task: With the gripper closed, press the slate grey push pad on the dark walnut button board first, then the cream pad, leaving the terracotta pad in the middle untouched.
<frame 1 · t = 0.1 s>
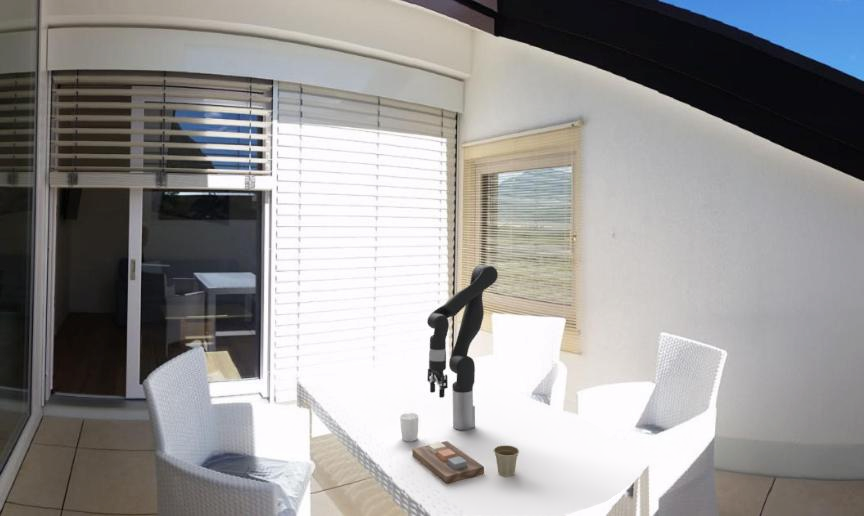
hand: (437, 394, 249), 17 cm above the table, tool pointing down, fingers open, 8 cm apart
cream pad: (436, 448, 224), point 4 cm above the table, slide at 0.0 cm
grey pad: (457, 464, 210), point 4 cm above the table, slide at 0.0 cm
terracotta pad: (446, 456, 217), point 4 cm above the table, slide at 0.0 cm
button board: (446, 465, 217), on the table
flower pot: (506, 473, 209), on the table
white cup: (409, 439, 244), on the table
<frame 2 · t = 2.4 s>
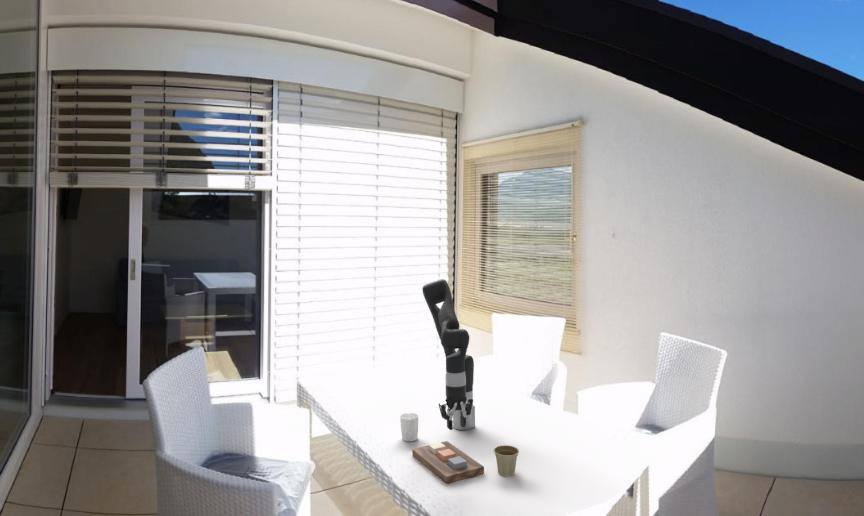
hand: (456, 427, 209), 17 cm above the table, tool pointing down, fingers open, 4 cm apart
nothing on the table moved.
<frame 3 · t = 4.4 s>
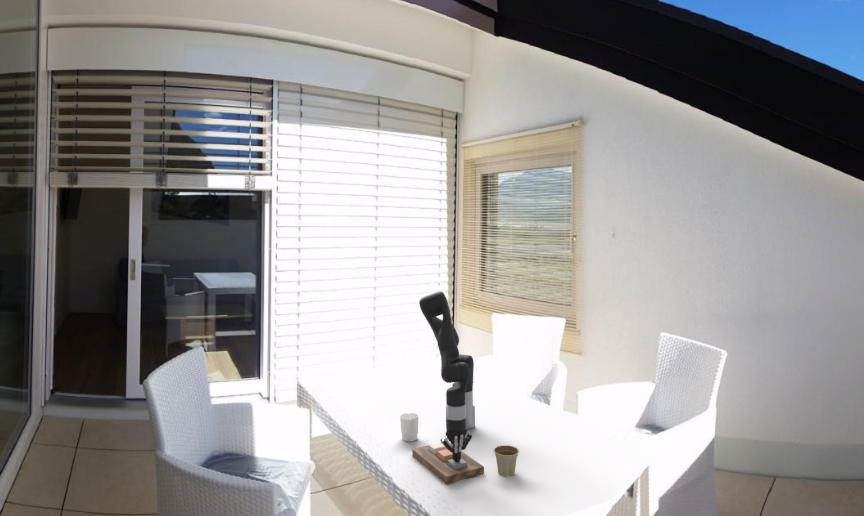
hand: (456, 461, 210), 5 cm above the table, tool pointing down, fingers closed
grey pad: (457, 465, 210), point 3 cm above the table, slide at 0.5 cm, touching gripper
everything else where it was.
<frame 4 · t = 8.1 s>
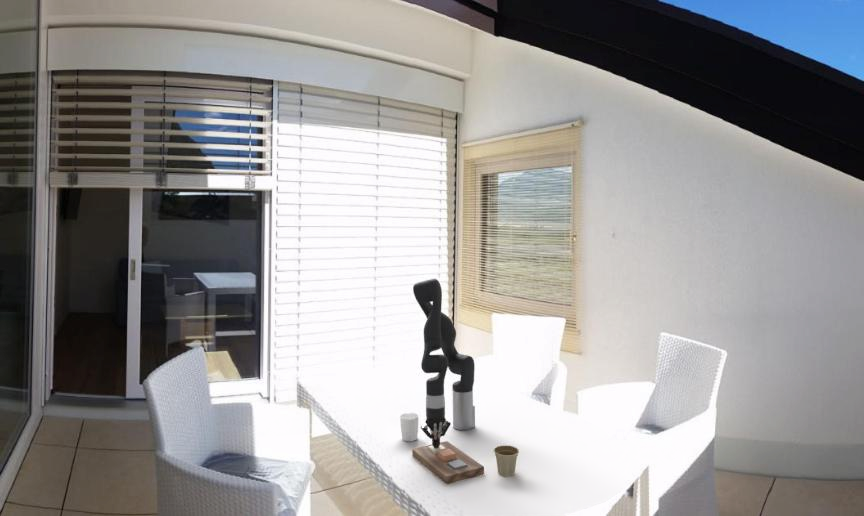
hand: (436, 447, 224), 4 cm above the table, tool pointing down, fingers closed
cream pad: (436, 450, 224), point 3 cm above the table, slide at 0.8 cm, touching gripper
grey pad: (457, 467, 210), point 2 cm above the table, slide at 1.3 cm
everything else where it was.
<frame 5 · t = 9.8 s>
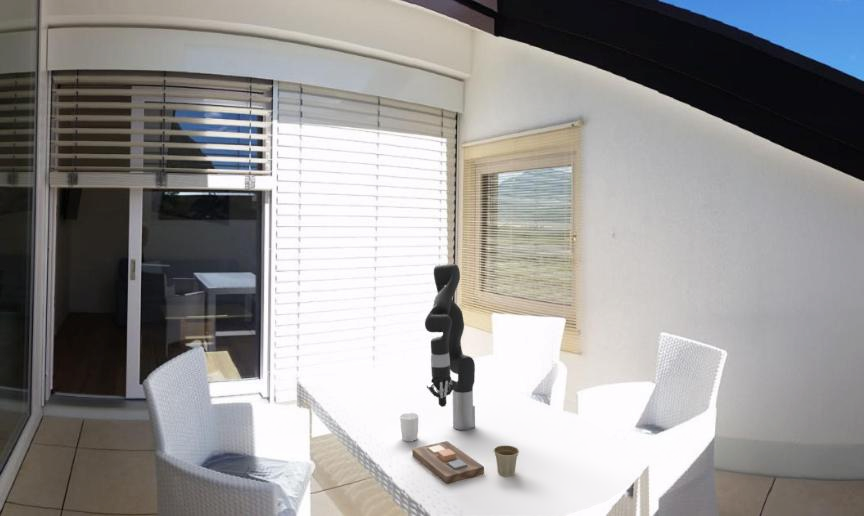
hand: (442, 405, 226), 20 cm above the table, tool pointing down, fingers closed
cream pad: (436, 452, 224), point 2 cm above the table, slide at 1.3 cm
everything else where it was.
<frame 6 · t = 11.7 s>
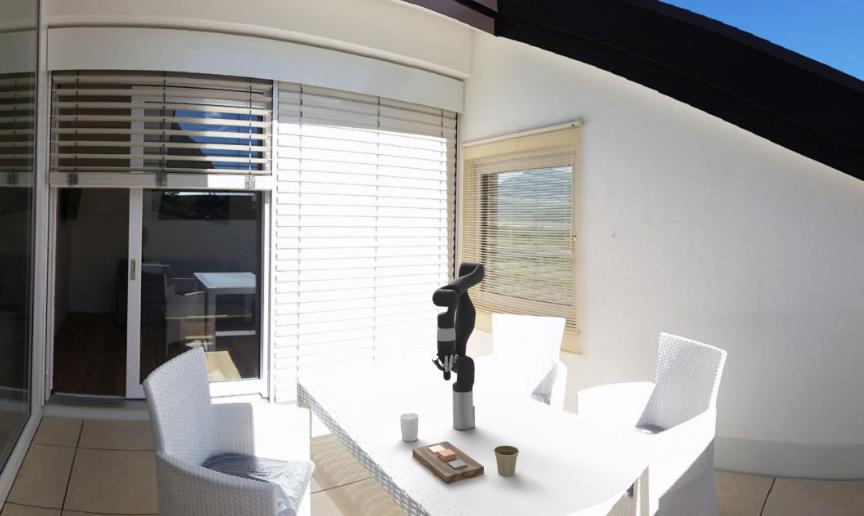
hand: (447, 379, 230), 29 cm above the table, tool pointing down, fingers closed
nothing on the table moved.
at the end: grey pad slide at 1.3 cm; cream pad slide at 1.3 cm; terracotta pad slide at 0.0 cm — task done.
